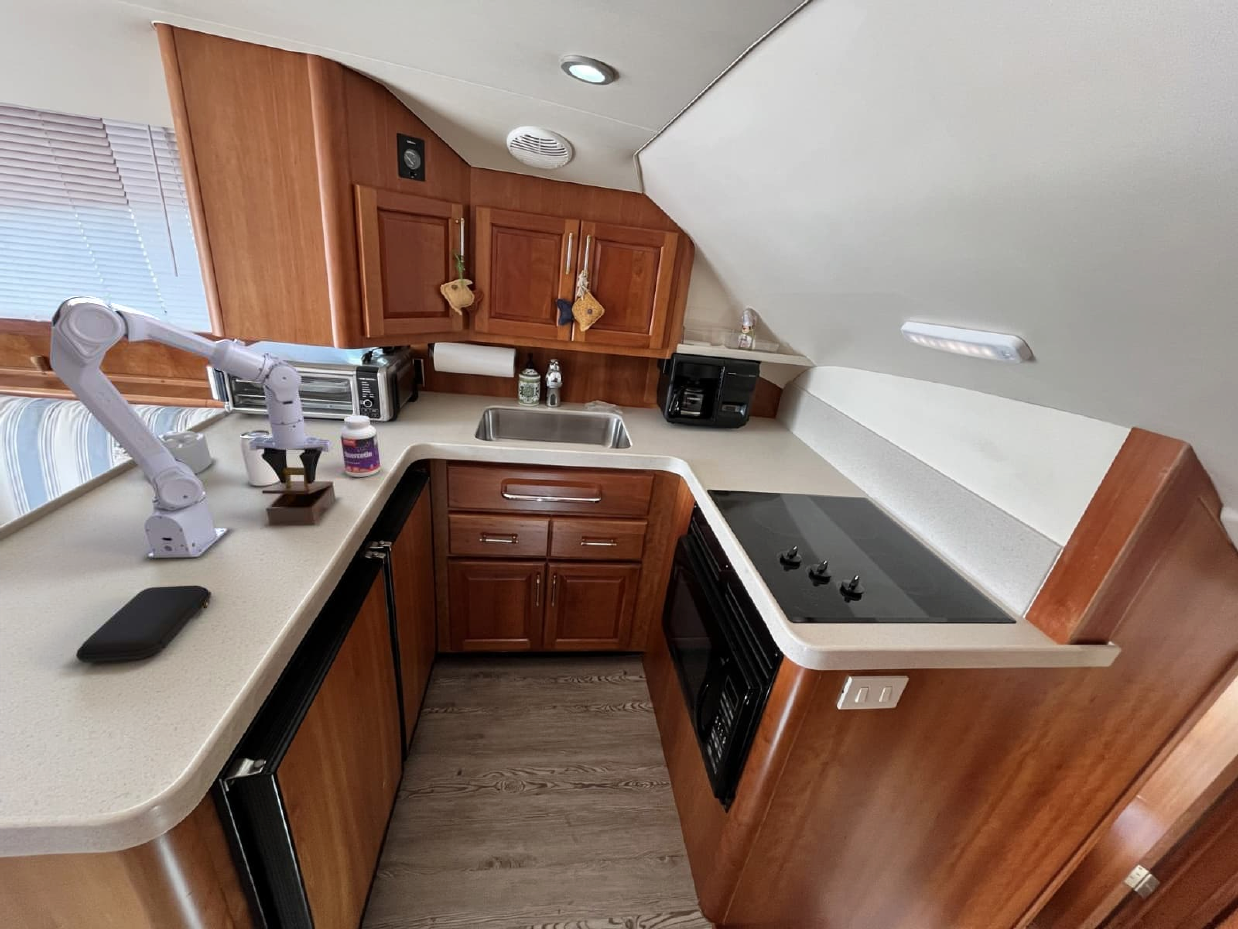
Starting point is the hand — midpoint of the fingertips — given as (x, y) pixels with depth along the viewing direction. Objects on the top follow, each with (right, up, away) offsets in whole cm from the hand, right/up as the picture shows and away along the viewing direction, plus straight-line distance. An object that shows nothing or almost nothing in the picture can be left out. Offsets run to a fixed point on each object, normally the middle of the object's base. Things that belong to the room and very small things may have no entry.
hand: (298, 481), depth 103 cm
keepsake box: (-1, -7, +3) cm, 7 cm away
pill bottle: (+2, +1, +23) cm, 23 cm away
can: (-17, -1, +14) cm, 22 cm away
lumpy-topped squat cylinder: (-40, +2, +16) cm, 43 cm away
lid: (0, -2, +1) cm, 2 cm away
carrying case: (-1, -21, -31) cm, 37 cm away
